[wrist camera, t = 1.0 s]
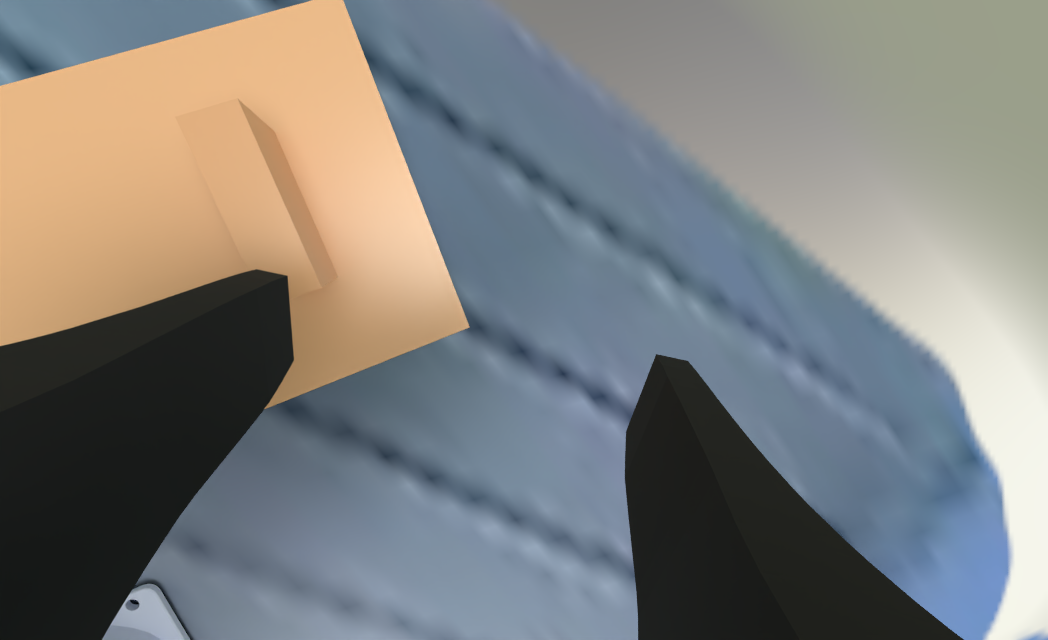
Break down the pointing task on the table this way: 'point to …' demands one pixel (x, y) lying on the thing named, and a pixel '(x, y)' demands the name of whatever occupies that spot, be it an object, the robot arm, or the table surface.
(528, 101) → the table surface
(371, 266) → the lid
